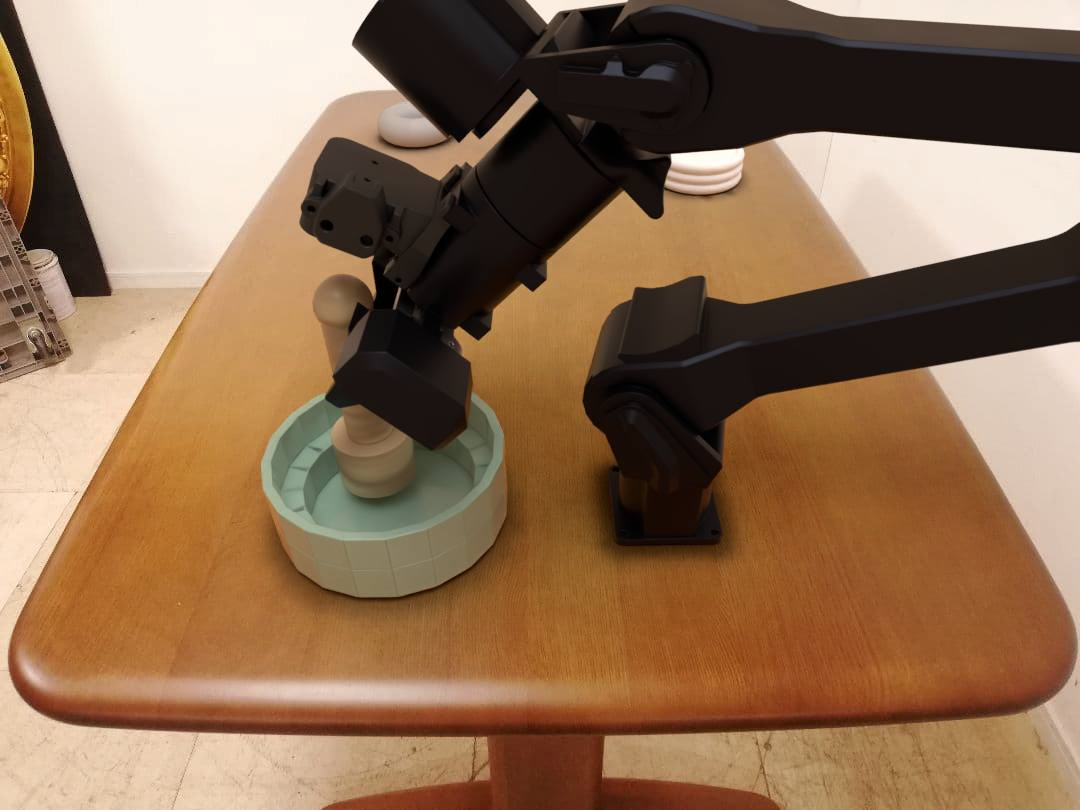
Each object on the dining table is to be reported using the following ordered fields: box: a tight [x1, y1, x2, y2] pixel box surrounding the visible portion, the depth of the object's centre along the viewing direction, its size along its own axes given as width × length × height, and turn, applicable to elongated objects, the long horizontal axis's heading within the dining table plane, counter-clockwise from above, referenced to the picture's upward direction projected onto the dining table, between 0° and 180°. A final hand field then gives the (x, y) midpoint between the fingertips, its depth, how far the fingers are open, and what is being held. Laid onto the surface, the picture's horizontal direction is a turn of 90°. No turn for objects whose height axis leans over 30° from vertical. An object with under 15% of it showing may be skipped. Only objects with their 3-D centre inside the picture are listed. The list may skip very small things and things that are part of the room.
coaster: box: [664, 148, 746, 195], centre depth 87 cm, size 10×10×4 cm
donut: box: [376, 100, 452, 148], centre depth 98 cm, size 10×4×10 cm
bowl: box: [260, 391, 508, 598], centre depth 48 cm, size 14×14×6 cm
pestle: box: [312, 273, 417, 498], centre depth 45 cm, size 5×5×14 cm
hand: (337, 384), depth 45 cm, fingers closed on pestle, 3 cm apart
